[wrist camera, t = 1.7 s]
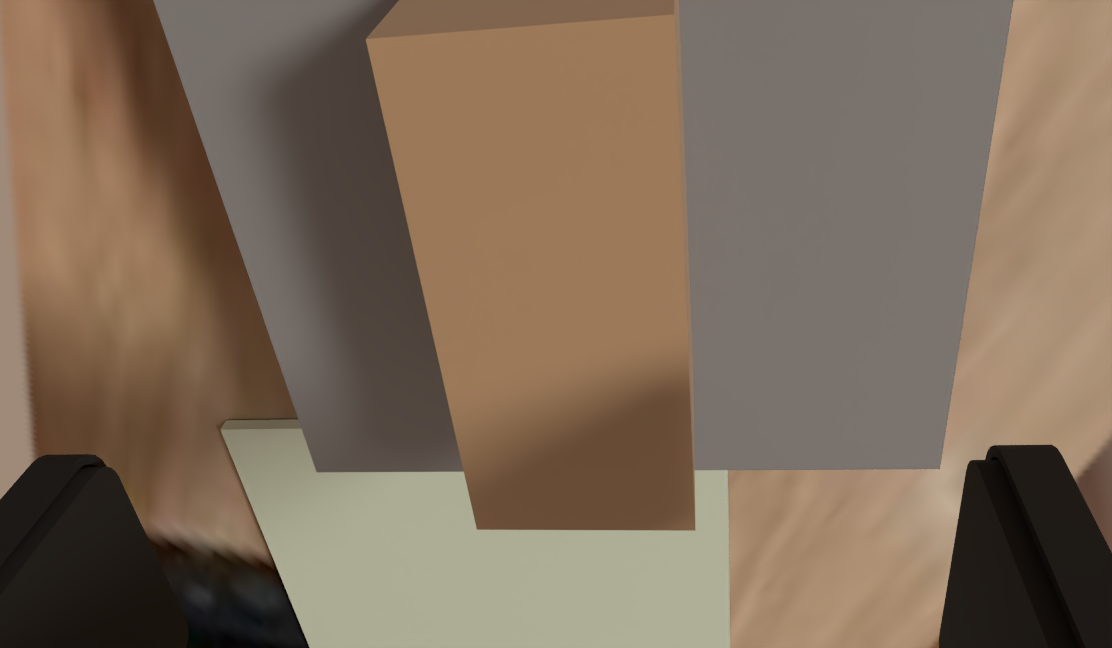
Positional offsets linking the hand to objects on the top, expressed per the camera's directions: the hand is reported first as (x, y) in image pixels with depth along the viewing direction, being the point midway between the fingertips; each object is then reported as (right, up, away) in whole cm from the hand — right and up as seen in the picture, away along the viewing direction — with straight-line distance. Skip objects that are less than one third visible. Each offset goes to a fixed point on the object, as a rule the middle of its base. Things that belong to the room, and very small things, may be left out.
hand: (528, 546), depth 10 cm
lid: (+1, +5, +6) cm, 8 cm away
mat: (-1, -6, +19) cm, 20 cm away
